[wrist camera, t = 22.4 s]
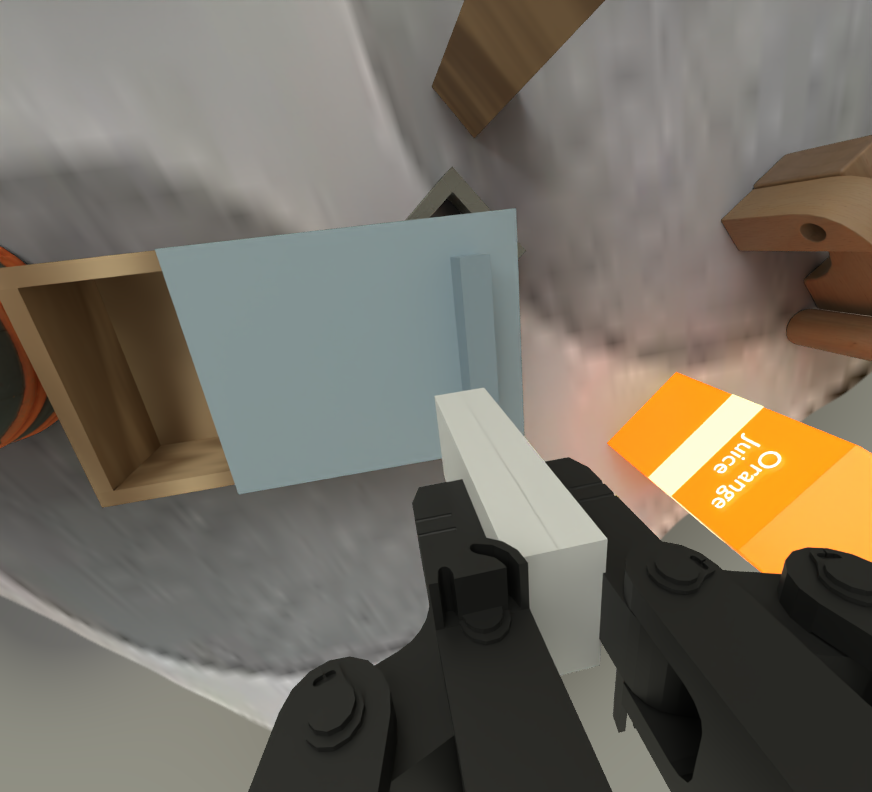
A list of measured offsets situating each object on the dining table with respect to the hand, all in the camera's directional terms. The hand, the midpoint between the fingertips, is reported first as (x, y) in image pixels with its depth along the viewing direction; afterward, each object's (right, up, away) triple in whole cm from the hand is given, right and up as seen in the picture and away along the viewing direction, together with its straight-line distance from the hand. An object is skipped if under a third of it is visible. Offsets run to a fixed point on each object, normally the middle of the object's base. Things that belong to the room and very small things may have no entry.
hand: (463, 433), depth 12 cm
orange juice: (+21, -2, +26) cm, 33 cm away
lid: (-5, +4, +12) cm, 13 cm away
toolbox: (-14, +5, +17) cm, 23 cm away
